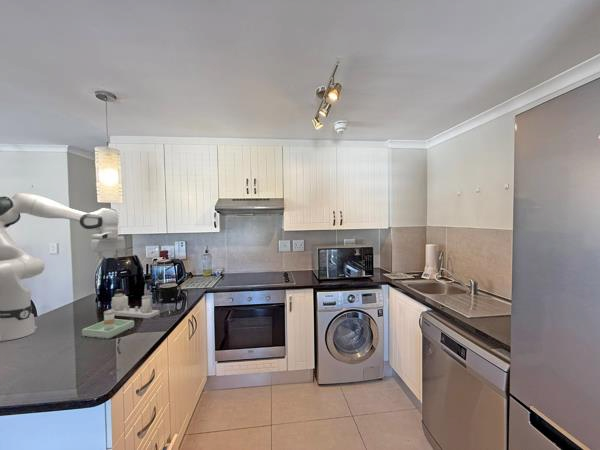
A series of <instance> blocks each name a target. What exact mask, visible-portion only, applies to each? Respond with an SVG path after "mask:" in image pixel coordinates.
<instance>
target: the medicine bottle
mask: <svg viewBox="0 0 600 450" xmlns="http://www.w3.org/2000/svg"><path fill="white" fill-rule="evenodd" d="M119 293H123V305H125V308H126V306H129V296H127V295H126V289H123V288H120V289H116V290H114V295H115V294H119ZM113 305H115V297H114V296H113V297H111V309H113Z"/></svg>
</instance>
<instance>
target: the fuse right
mask: <svg viewBox="0 0 600 450" xmlns="http://www.w3.org/2000/svg"><path fill="white" fill-rule="evenodd" d="M141 307H142V313H149V308H150V307H151V295H149V294H144V295H142V296H141Z"/></svg>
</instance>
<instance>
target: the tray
mask: <svg viewBox="0 0 600 450" xmlns="http://www.w3.org/2000/svg"><path fill="white" fill-rule="evenodd" d="M114 326H115V328H114V329H112V330H110V331H104V320H102V321H100V322H97V323H95V324H93V325H89V326H88V327H84V328H83V329H81V337H85V336H87V338H94V337H97V338H96V339H104V338H106V340H107V339H108V340H110V339H112V338H113V337H114V338H115V337H116V336H118V335H121V334H123V333H124V331H125V332H127V331H129V330H130V329H133V328H135V320H132V319H131V320H130V319H121V318H120V319H118V318H115V322H114ZM128 329H129V330H128ZM126 330H127V331H126ZM109 338H110V339H109Z"/></svg>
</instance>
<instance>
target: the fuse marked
mask: <svg viewBox="0 0 600 450" xmlns="http://www.w3.org/2000/svg"><path fill="white" fill-rule="evenodd" d="M115 319H116V318H115V315H114V310H110V309H108V311H107V310H104V311H103V321H104V331H110V330H112V329H114V328H115V326H114V322H115Z"/></svg>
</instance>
